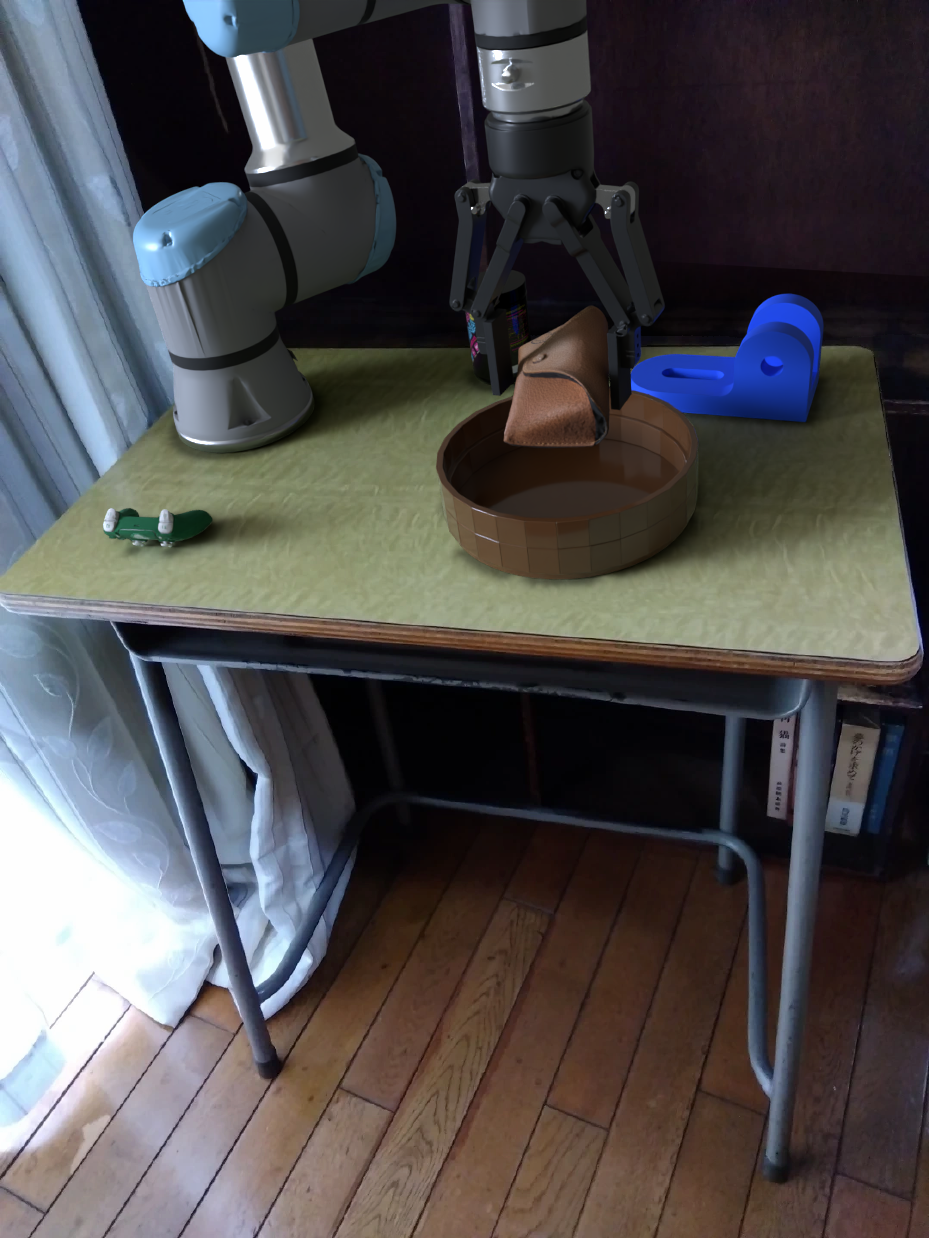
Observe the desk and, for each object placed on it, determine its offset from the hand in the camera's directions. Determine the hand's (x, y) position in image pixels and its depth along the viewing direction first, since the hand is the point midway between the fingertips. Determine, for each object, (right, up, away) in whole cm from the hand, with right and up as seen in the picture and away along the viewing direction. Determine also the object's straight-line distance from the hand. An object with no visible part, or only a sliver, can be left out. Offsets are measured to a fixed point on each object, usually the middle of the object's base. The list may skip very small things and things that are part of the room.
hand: (560, 394), depth 86 cm
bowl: (+1, -8, +7) cm, 11 cm away
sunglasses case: (0, 0, +1) cm, 1 cm away
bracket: (+18, +4, +19) cm, 26 cm away
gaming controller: (-37, -11, +12) cm, 40 cm away
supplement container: (-4, +8, +29) cm, 30 cm away
